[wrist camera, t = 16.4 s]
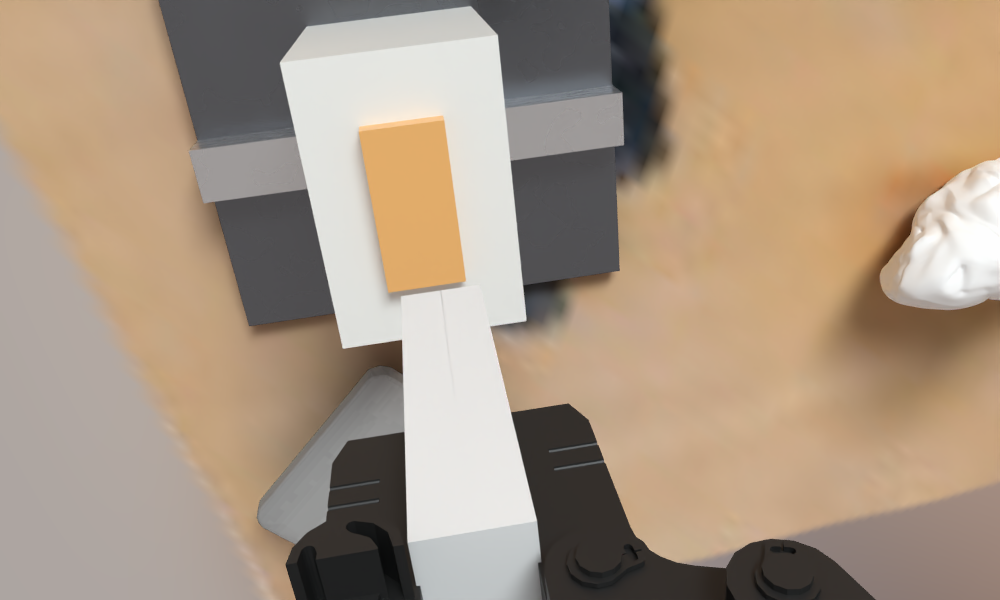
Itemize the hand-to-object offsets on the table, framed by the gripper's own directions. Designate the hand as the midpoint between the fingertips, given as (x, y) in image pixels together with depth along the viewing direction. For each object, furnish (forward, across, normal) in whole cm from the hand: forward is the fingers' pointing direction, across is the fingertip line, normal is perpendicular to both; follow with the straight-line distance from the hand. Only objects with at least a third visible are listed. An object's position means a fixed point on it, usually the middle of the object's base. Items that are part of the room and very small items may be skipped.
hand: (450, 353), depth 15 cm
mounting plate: (+18, 0, 0) cm, 18 cm away
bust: (+19, -25, +7) cm, 32 cm away
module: (+17, 0, 0) cm, 17 cm away
